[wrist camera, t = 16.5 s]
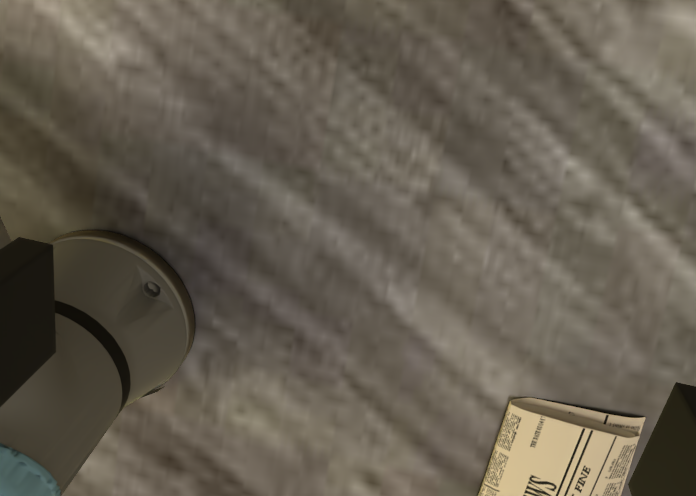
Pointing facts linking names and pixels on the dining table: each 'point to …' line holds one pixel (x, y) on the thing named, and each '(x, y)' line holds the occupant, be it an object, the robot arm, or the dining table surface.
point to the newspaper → (560, 451)
